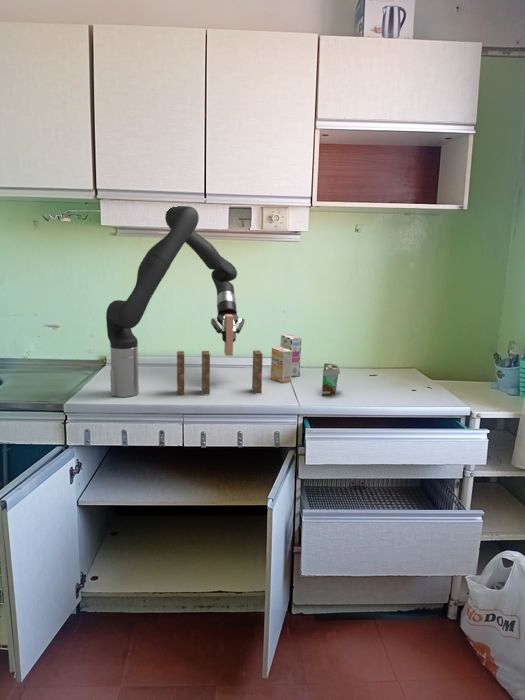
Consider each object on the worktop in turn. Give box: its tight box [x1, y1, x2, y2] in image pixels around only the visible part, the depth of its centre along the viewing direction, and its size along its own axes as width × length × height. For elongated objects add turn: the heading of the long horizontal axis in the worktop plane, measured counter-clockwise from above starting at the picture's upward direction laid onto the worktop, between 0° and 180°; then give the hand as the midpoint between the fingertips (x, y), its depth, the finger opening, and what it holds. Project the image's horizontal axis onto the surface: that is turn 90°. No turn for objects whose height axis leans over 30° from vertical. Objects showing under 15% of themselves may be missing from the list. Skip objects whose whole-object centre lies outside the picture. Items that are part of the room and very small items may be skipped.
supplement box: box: [270, 346, 293, 384], centre depth 199 cm, size 8×5×13 cm, turn 36°
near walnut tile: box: [176, 350, 185, 396], centre depth 177 cm, size 2×6×15 cm, turn 10°
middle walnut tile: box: [201, 350, 211, 395], centre depth 179 cm, size 2×6×15 cm, turn 11°
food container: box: [321, 362, 341, 397], centre depth 184 cm, size 12×6×10 cm, turn 171°
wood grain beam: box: [251, 349, 264, 394], centre depth 182 cm, size 2×6×15 cm, turn 10°
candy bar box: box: [280, 334, 302, 378], centre depth 210 cm, size 11×5×16 cm, turn 21°
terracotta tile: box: [223, 314, 234, 357], centre depth 188 cm, size 2×6×15 cm, turn 10°
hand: (229, 341), depth 186 cm, fingers closed on terracotta tile, 2 cm apart
